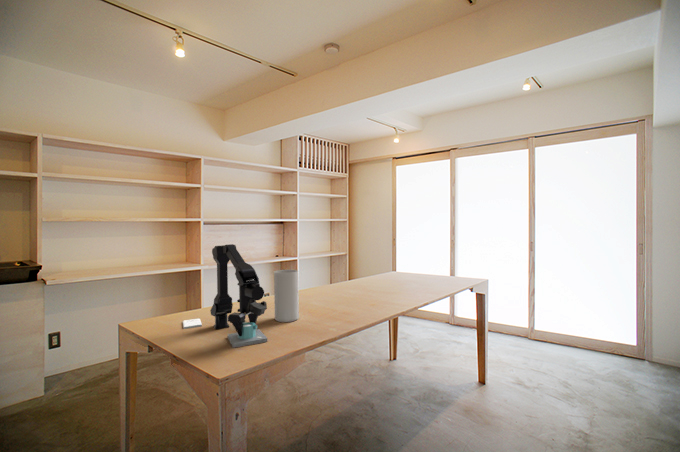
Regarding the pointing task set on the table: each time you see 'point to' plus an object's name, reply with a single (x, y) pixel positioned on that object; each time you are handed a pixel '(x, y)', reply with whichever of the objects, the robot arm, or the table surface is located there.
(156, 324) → the table surface
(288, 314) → the cylinder vase
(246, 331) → the mug with handle
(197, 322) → the external hard drive
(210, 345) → the table surface
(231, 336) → the flat gray panel
